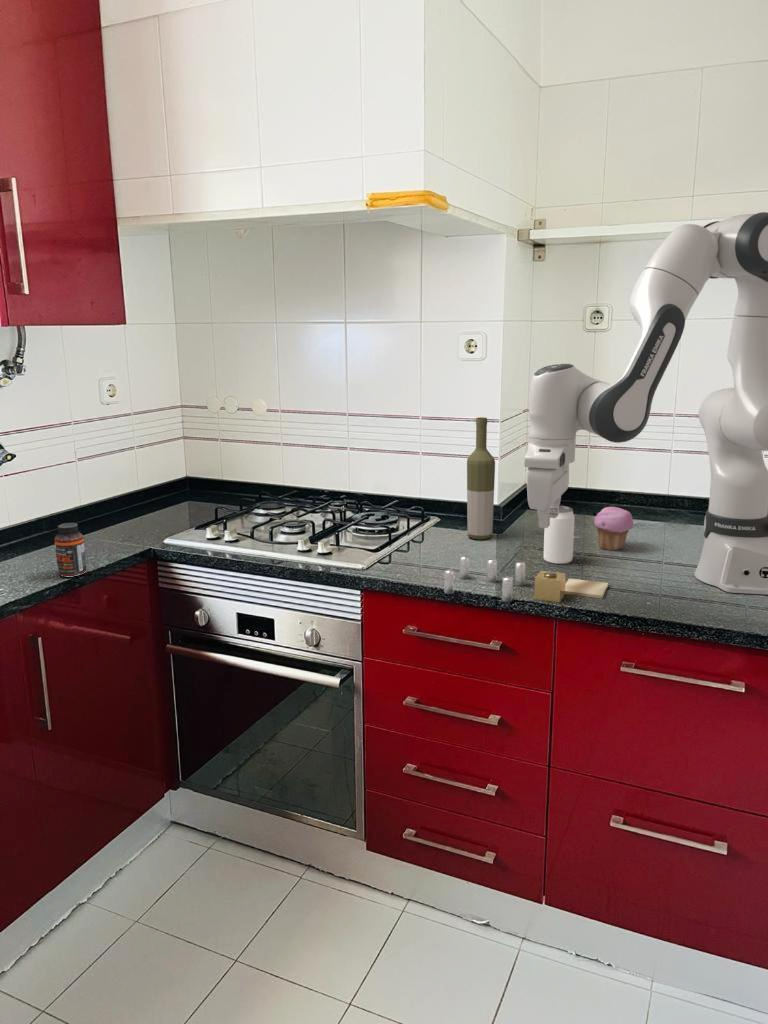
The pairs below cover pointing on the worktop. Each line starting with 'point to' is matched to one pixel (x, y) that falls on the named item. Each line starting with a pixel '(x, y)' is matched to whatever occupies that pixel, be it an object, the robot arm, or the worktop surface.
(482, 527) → the bottle
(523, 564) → the spacer posts
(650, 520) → the worktop surface
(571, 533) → the can
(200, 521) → the worktop surface
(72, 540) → the supplement bottle
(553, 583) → the cube with brass knob
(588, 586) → the coaster
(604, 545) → the cupcake
